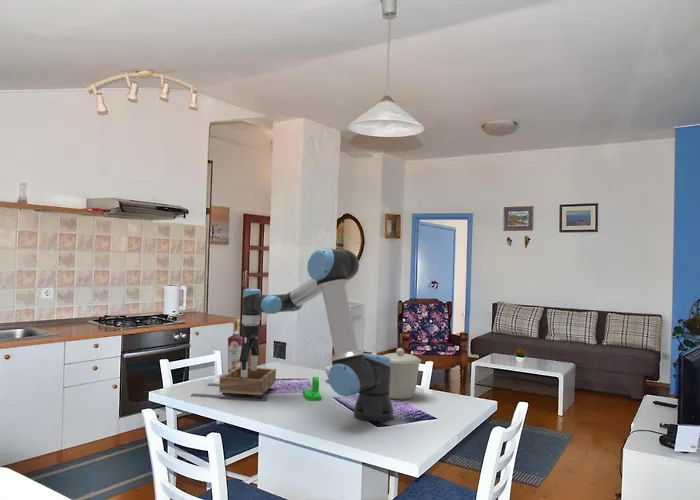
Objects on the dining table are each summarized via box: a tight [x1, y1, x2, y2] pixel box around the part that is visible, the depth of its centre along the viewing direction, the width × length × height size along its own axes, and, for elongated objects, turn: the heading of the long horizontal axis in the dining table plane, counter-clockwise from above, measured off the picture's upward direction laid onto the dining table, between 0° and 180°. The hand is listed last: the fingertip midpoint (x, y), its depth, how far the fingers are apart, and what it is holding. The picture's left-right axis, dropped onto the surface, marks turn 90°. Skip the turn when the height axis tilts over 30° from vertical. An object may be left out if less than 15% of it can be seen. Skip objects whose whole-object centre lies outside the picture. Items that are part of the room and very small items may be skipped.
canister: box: [382, 347, 422, 401], centre depth 226 cm, size 18×18×21 cm
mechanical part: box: [302, 376, 322, 402], centre depth 221 cm, size 12×6×8 cm, turn 13°
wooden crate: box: [218, 366, 277, 398], centre depth 225 cm, size 22×18×8 cm
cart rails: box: [190, 382, 279, 402], centre depth 225 cm, size 20×32×1 cm, turn 84°
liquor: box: [227, 318, 244, 373], centre depth 252 cm, size 7×7×28 cm
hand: (249, 373), depth 225 cm, fingers open, 13 cm apart
